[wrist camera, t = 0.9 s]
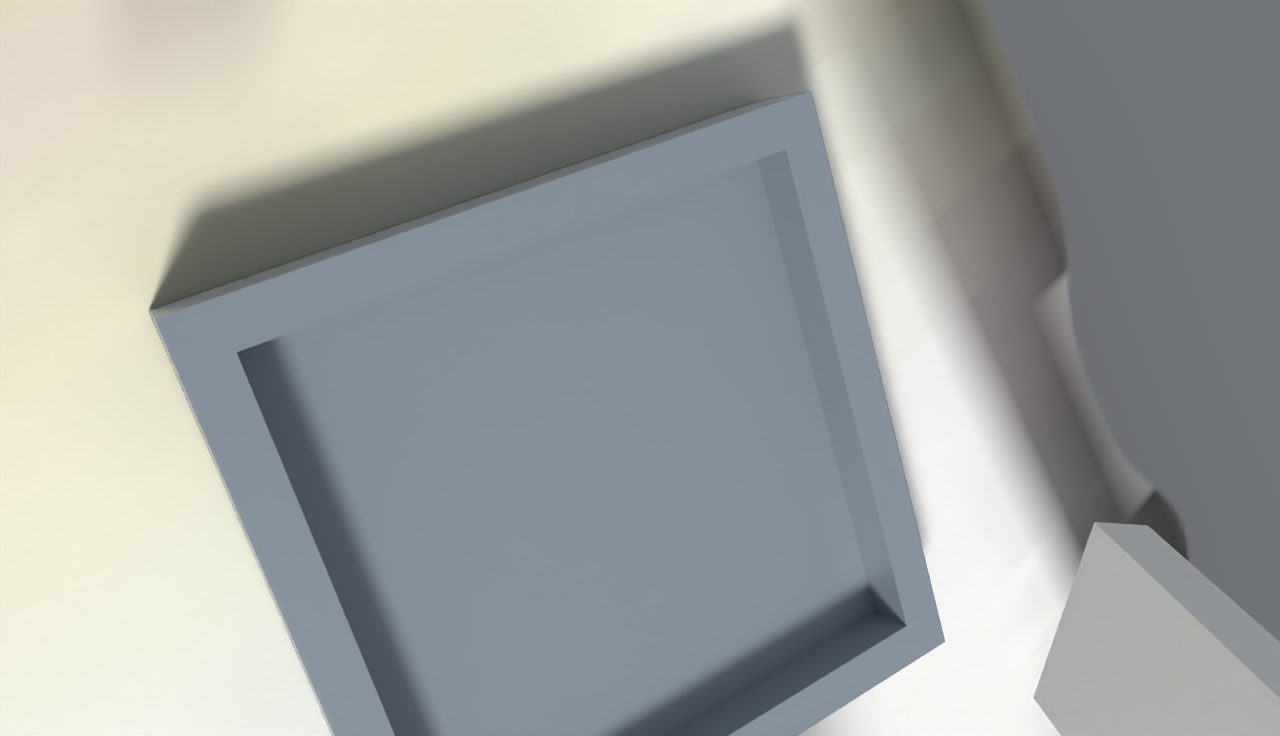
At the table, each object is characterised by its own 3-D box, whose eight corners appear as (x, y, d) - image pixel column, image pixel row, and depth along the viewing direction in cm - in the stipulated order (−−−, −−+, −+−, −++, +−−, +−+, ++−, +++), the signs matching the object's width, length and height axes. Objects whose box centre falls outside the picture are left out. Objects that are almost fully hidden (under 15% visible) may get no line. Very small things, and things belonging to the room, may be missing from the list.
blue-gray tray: (148, 310, 20) (154, 319, 18) (760, 100, 25) (810, 90, 24) (408, 910, 24) (434, 966, 22) (892, 616, 29) (944, 641, 27)
